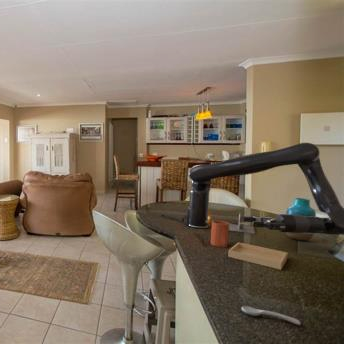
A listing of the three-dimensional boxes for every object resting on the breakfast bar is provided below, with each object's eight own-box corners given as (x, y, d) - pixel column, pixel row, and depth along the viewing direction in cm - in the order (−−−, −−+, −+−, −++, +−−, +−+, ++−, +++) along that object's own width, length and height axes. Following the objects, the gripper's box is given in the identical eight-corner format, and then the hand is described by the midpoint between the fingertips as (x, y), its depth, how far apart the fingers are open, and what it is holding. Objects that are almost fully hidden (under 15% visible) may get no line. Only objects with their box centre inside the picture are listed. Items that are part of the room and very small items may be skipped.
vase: (306, 237, 138) (310, 197, 137) (319, 244, 129) (323, 201, 127) (279, 234, 142) (282, 196, 140) (289, 241, 132) (293, 200, 130)
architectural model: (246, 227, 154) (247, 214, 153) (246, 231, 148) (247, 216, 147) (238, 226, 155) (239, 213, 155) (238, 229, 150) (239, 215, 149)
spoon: (239, 308, 77) (241, 301, 76) (296, 323, 72) (298, 316, 72) (242, 314, 74) (243, 307, 74) (301, 330, 69) (302, 322, 69)
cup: (208, 244, 127) (209, 222, 127) (213, 241, 132) (214, 219, 131) (224, 248, 123) (226, 225, 122) (229, 244, 127) (230, 222, 126)
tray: (228, 256, 113) (228, 250, 113) (237, 248, 123) (238, 242, 123) (281, 269, 102) (281, 262, 101) (287, 259, 111) (287, 252, 111)
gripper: (282, 211, 127) (241, 209, 131) (303, 219, 114) (257, 216, 117) (280, 227, 128) (239, 225, 131) (302, 237, 114) (256, 235, 117)
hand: (248, 221), depth 124 cm, fingers open, 8 cm apart
